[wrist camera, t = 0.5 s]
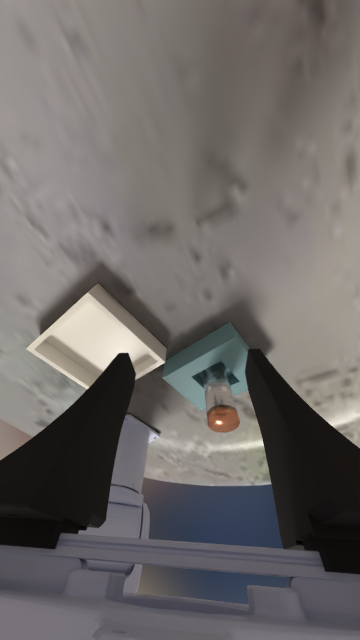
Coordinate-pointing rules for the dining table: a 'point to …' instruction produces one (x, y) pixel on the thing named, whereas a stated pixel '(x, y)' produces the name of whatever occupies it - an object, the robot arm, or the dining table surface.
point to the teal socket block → (208, 364)
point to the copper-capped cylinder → (219, 399)
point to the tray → (97, 339)
